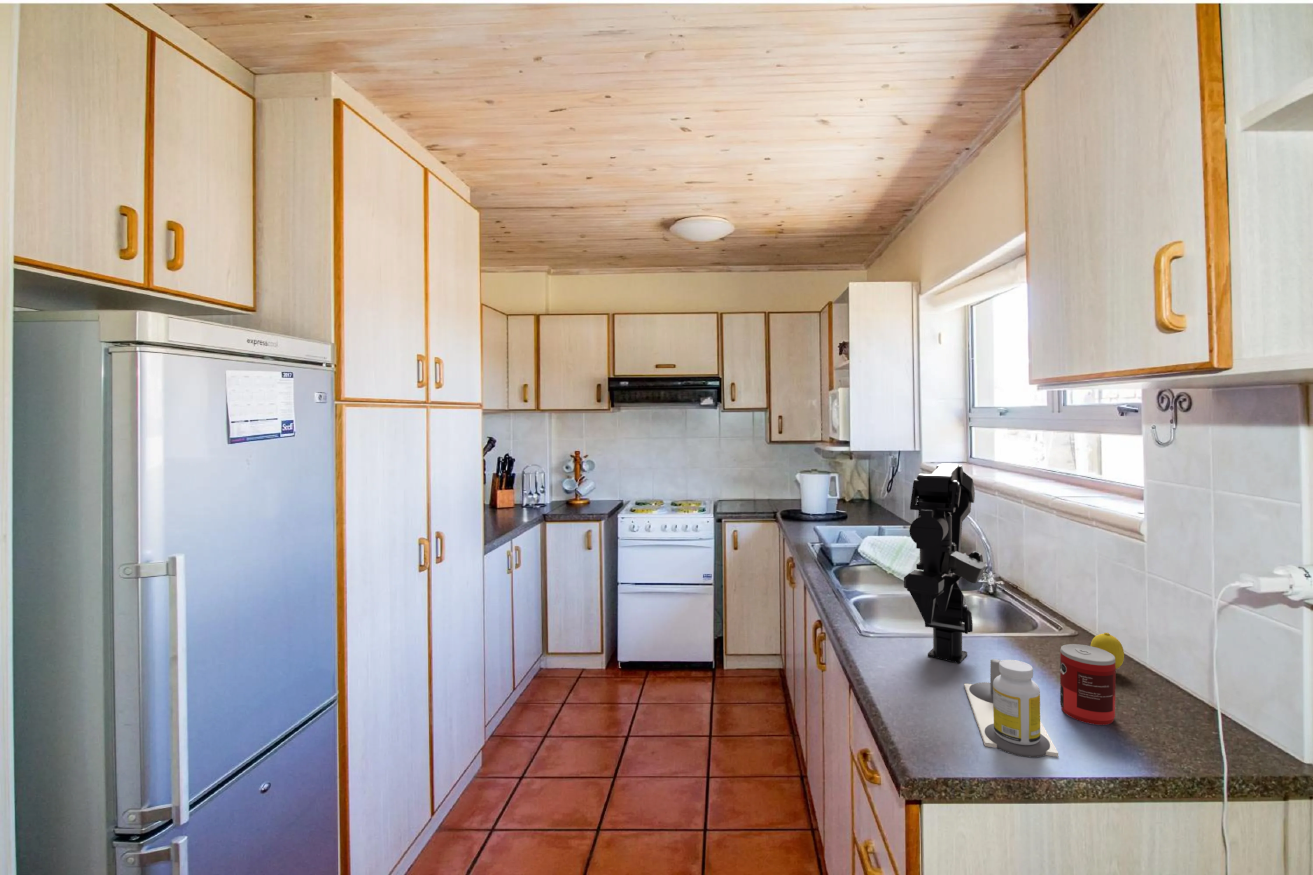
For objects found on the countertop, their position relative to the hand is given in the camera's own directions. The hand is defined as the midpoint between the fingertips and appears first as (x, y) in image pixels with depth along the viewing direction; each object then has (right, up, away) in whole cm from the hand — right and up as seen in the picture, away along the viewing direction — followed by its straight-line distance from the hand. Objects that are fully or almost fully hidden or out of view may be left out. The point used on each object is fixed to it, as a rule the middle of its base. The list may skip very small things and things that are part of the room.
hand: (935, 616), depth 118 cm
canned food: (+20, -13, -13) cm, 28 cm away
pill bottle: (+3, -13, -21) cm, 25 cm away
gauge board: (+6, -13, -14) cm, 20 cm away
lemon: (+36, -12, +4) cm, 38 cm away
